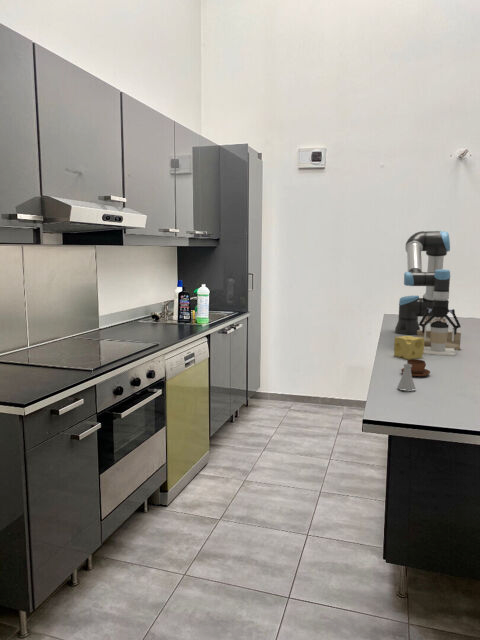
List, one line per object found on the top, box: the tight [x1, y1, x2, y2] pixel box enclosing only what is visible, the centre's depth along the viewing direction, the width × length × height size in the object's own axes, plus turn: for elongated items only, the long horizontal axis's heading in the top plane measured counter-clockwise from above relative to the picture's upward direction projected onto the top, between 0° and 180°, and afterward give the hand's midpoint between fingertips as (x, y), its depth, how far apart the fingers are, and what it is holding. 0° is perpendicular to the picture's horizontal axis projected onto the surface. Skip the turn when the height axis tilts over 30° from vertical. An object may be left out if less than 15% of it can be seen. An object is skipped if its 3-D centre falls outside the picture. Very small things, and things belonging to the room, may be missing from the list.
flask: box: [397, 363, 416, 390], centre depth 205 cm, size 7×7×10 cm
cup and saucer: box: [400, 358, 431, 378], centre depth 228 cm, size 12×12×6 cm
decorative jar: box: [423, 317, 447, 324], centre depth 373 cm, size 12×12×18 cm
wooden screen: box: [416, 329, 462, 351], centre depth 285 cm, size 6×22×9 cm, turn 70°
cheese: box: [393, 335, 424, 360], centre depth 263 cm, size 10×11×10 cm
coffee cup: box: [429, 321, 450, 352], centre depth 274 cm, size 9×9×15 cm
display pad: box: [423, 346, 456, 357], centre depth 276 cm, size 16×16×1 cm
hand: (438, 340), depth 275 cm, fingers open, 13 cm apart
